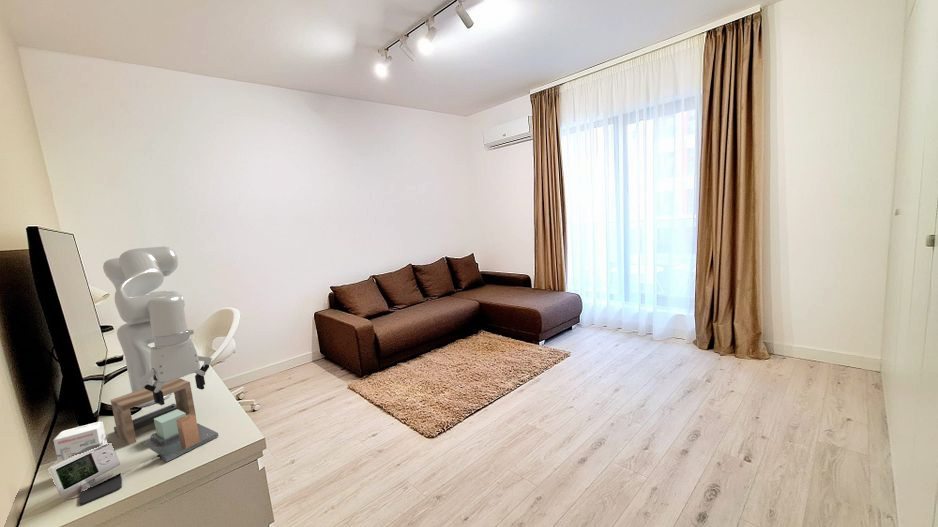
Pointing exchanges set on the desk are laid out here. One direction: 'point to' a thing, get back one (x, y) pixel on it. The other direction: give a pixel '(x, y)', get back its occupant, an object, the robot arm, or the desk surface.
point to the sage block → (168, 424)
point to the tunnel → (142, 396)
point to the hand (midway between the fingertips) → (181, 395)
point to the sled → (181, 439)
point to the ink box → (79, 440)
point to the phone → (101, 489)
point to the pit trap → (151, 417)
